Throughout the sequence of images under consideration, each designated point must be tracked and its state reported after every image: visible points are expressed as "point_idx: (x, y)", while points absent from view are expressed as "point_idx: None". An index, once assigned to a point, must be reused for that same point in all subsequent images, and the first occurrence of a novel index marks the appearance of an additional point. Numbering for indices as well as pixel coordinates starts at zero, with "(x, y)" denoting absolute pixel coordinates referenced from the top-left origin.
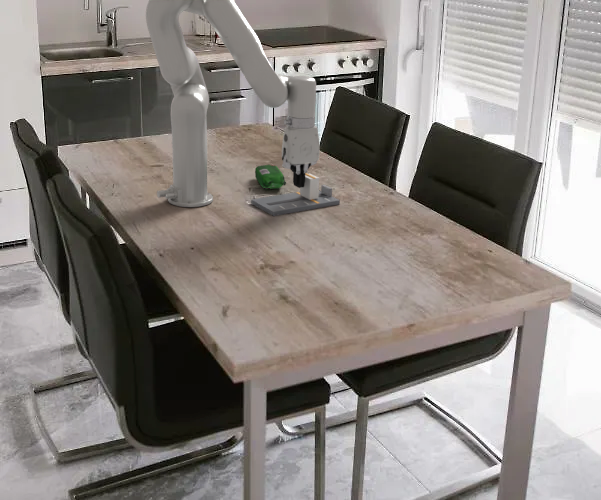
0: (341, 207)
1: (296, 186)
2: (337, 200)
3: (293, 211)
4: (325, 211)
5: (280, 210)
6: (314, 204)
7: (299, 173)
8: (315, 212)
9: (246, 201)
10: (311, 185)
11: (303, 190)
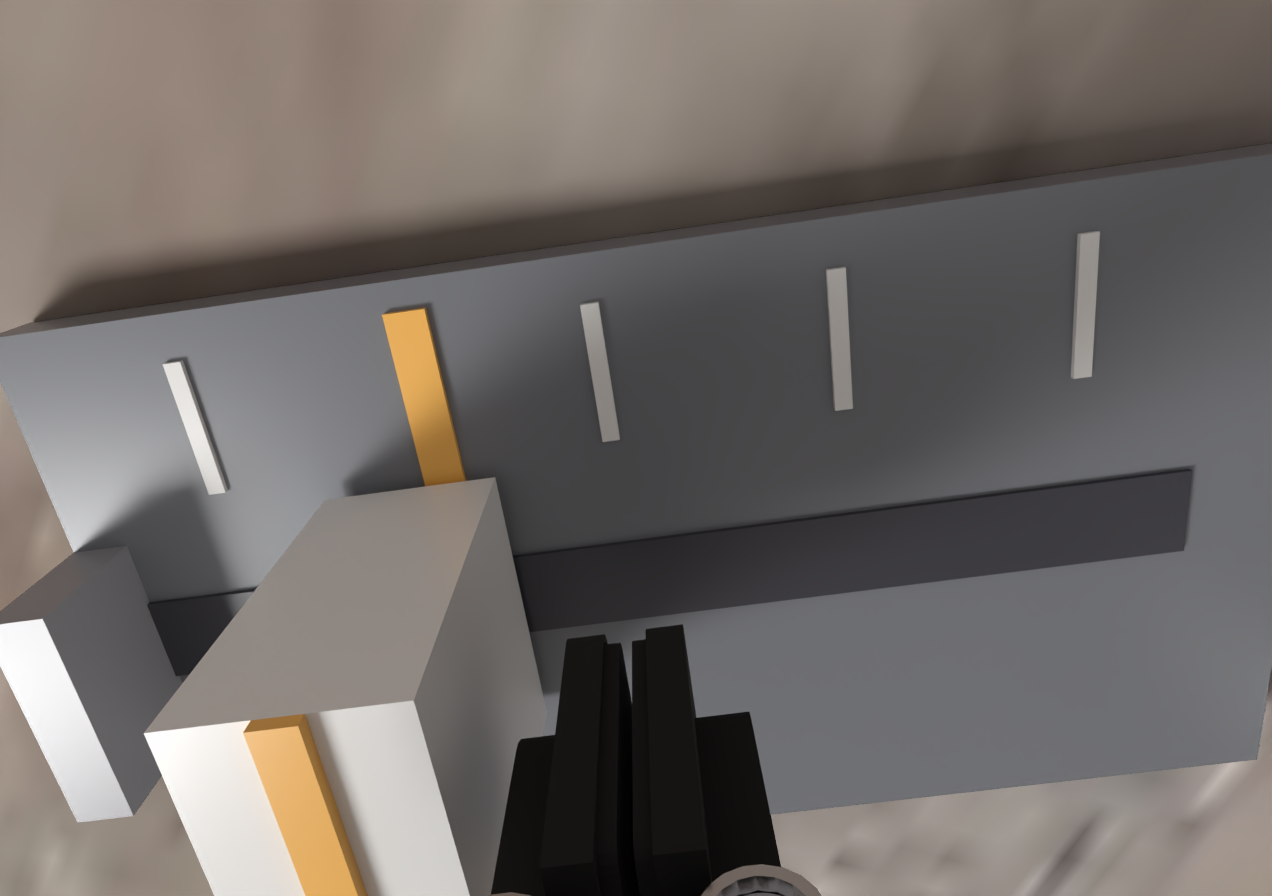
0: (35, 167)
1: (695, 713)
2: (27, 339)
3: (910, 199)
4: (373, 61)
5: (1197, 172)
6: (493, 273)
7: (720, 886)
8: (560, 72)
9: (1216, 800)
10: (413, 613)
11: (518, 701)
